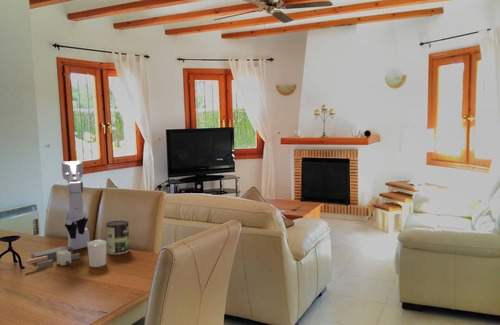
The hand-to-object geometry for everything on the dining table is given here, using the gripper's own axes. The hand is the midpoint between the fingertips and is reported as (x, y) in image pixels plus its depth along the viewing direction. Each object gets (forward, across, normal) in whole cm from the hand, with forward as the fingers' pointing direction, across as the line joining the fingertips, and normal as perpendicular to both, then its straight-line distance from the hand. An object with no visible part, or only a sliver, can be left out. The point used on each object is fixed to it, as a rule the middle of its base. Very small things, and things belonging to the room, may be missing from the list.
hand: (77, 236), depth 186 cm
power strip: (+9, +6, -8) cm, 14 cm away
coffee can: (+10, -8, +16) cm, 20 cm away
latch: (+6, +17, -9) cm, 20 cm away
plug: (+9, +13, +2) cm, 16 cm away
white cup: (+10, +11, +14) cm, 20 cm away
